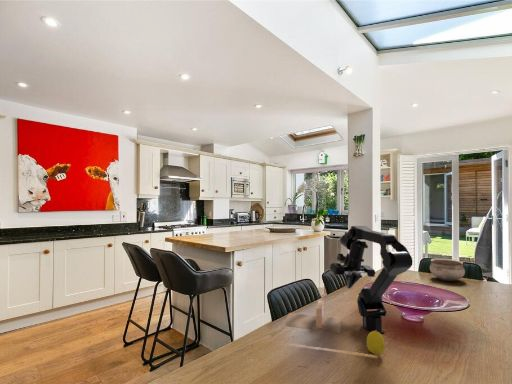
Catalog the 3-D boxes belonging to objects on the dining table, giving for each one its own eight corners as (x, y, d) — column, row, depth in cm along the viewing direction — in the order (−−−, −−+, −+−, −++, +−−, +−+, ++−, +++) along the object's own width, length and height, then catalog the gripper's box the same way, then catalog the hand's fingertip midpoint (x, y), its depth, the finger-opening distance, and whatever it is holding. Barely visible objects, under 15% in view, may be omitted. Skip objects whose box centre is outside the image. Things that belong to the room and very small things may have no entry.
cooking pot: (445, 286, 174) (444, 265, 175) (419, 278, 192) (419, 259, 193) (476, 282, 181) (475, 263, 182) (448, 275, 200) (448, 257, 200)
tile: (323, 318, 123) (323, 300, 123) (321, 328, 114) (321, 308, 114) (318, 317, 124) (318, 300, 124) (316, 327, 114) (316, 308, 115)
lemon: (369, 349, 99) (369, 325, 99) (387, 355, 95) (386, 330, 96) (364, 356, 94) (363, 331, 95) (382, 362, 91) (381, 336, 91)
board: (340, 320, 123) (340, 318, 123) (340, 334, 110) (340, 332, 110) (289, 314, 129) (289, 312, 129) (282, 327, 116) (282, 325, 116)
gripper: (365, 249, 134) (358, 280, 137) (328, 245, 130) (321, 278, 133) (379, 258, 123) (371, 292, 126) (339, 255, 120) (332, 290, 122)
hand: (348, 288), depth 127 cm, fingers closed
